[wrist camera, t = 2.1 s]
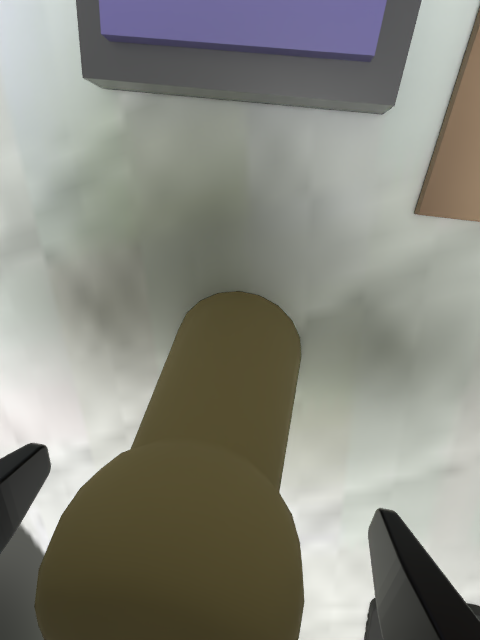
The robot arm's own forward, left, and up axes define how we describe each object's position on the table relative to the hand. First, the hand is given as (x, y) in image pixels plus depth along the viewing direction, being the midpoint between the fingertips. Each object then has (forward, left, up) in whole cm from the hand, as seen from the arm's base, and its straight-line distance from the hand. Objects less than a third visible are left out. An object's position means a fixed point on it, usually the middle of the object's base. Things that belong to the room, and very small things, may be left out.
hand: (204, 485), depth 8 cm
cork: (0, 0, -8) cm, 8 cm away
